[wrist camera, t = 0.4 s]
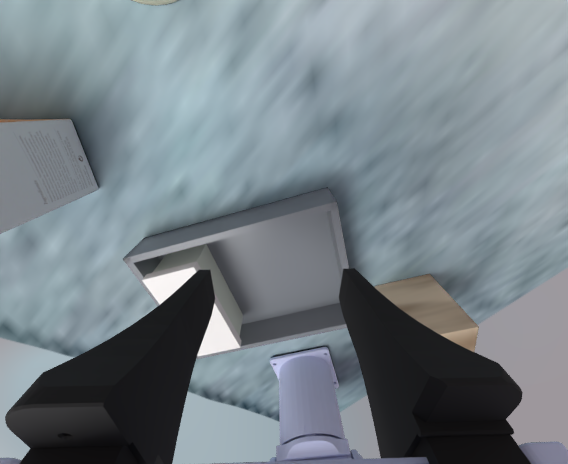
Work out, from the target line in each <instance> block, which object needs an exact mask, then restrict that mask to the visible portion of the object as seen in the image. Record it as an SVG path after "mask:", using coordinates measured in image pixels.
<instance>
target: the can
mask: <svg viewBox="0 0 568 464" xmlns="http://www.w3.org/2000/svg"><path fill="white" fill-rule="evenodd" d="M132 1H135V2H138V3H141V4H147V5H165V4H170V3H173V2H176V1H178V0H132Z"/></svg>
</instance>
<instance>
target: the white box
mask: <svg viewBox="0 0 568 464" xmlns="http://www.w3.org/2000/svg"><path fill="white" fill-rule="evenodd" d="M198 270H210V271H211V276H212V282H213V288H214V294H215V302H214V307H213V311H212V316H211V319H210V321H209V324H208V327H207V330H206V333H205V335H204V338H203V341H202V344H201V346H200V349H199V352H198V355H197V356H203V355H208V354H212V353H217V352H222V351H227V350H231V349H236V348H240V347H241V339H240V331H241V325H242V319H243V314H242V312H241V310H240V308H239V306H238V304H237V303H236V301H235V299H234V297H233V295H232V293H231V291H230V289H229V287H228V285H227V283H226V281H225V279H224V277H223V275H222V274H221V272H220V270H219V268H218V266H217V264H216V262H215V260H214V258H213V256H212V254H211V252H210V250H209V248H208V246H207V245H206V244H204V245H200V246H196V247H193V248H189V249H185V250H181V251H177V252H174V253H170V254H166V255H165V257H164V258H163V259H162V261H161V262H160V263H159V264H158V266H157V267H156V268H155V270H154V271H153V272H152V273H149V274H146V276H145V277H144V278H143V279H142V281H143V283H144V284H145V285H146V287H147V288H148V289H149V291H150V292H151V293H152V295H153V296H154V298H155V299H156V300H157V302H158V303H159V304H161V303H163V302H164V301H165V300H166V299H167V298H169V297H170V296H171V295H172V294H173V293H174V292H175V291H177V290H178V289H179V288H180V287H181V286H182V285H183V284H184V283H185V282H186V281H187V280H188V279H189V278H191V277H192V276H193V275H194V274H195V273H196V272H197V271H198Z"/></svg>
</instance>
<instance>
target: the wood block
mask: <svg viewBox="0 0 568 464" xmlns="http://www.w3.org/2000/svg"><path fill="white" fill-rule="evenodd" d="M375 288H376V289H377V290H378V291H379V292H380V293H381V294H383V295H384V296H385V297H386V298H387V299H389V300H390V301H391V302H392V303H394V304H395V305H396V306H397V307H399V308H400V309H401V310H403V311H404V312H405V313H407V314H408V315H410V316H411V317H413V318H414V319H415V320H417V321H418V322H420V323H422V324H423V325H425V326H426V327H428V328H430V329H431V330H433V331H435V332H436V333H438V334H440V335H442V336H443V337H445V338H447V339H449V340H451V341H453V342H454V343H456V344H458V345H460V346H462V347H464V348H466V349H468V350H470V351H472V352H474V350H475V345H476V339H477V334H478V328H479V327H478V325H477V324H476V323H475V322H474V321H473V320H472V319H471V318H470V317H469V316H468V315H467V314H466V313H465V311H464V310H463V309H462V308H461V307H460V306H459V305H458V304H457V303H456V302H455V301H454V300H453V299H452V297H451V296H450V295H449V294H448V293H447V292H446V291H445V290H444V289H443V288H442V287H441V286H440V285H439V284H438V282H437V281H436V280H435V279H434V278H433V277H432V276H431V275H430V274H426V275H422V276H418V277H413V278H409V279H404V280H400V281H395V282H391V283H387V284H382V285H378V286H375Z"/></svg>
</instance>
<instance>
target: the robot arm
mask: <svg viewBox="0 0 568 464" xmlns="http://www.w3.org/2000/svg"><path fill="white" fill-rule="evenodd" d="M339 301H340V305H341V310H342V314H343V317H344V320H345V323H346V325H347V328H348V331H349V334H350V336H351V339H352V342H353V345H354V347H355V350H356V353H357V356H358V359H359V363H360V366H361V370H362V374H363V378H364V382H365V386H366V390H367V395H368V399H369V403H370V408H371V412H372V417H373V421H374V426H375V431H376V436H377V440H378V445H379V451H380V456H381V458H378V459H377V458H376V459H363V457H362V456H361V455H360V454H359V453H358V452H357V451H356V450H351V451H350V449H349V444H348V440H347V439H345V435H344V431H343V426H342V421H341V416H340V411H339V406H338V402H337V397H336V392H335V389H336V388H338V387H339V384H338V380H337V377H336V373H335V370H334V367H333V363H332V360H331V357H330V353H329V350H328V348H327V347H321V348H316V349H311V350H307V351H302V352H297V353H292V354H287V355H282V356H277V357H272V358H271V359H270V363H271V365H272V367H273V369H274V371H275V373H276V375H277V377H278V379H279V405H280V445H279V446H277V447H276V454H277V455H276V457H273V458H271V459H270V461H269V462H246V463H214V464H568V450H567V449H566V447H565V446H564V445H563V444H562V443H560V442H531V443H525V444H521V445H519V446H518V445H517V443H516V442H515V441H514V439H513V438H512V437H511V435H512V434H513V433H514V431H513V429H512V427H511V426H510V425H509V423H508V422H507V421H506V418H507V417H508V416H509V415H510V414H511V413H512V412H513V411H514V409H515V408H516V407H517V406H518V405H519V403H520V402H521V399H522V391H521V389H520V387H519V386H518V385H517V384H516V383H515V382H514V380H513V379H512V378H511V377H510V376H509V375H508V374H507V372H506V371H505V370H504V369H503V368H502V367H501V366H500V365H499V364H498V363H496V362H494V361H492V360H490V359H488V358H485V357H483V356H481V355H479V354H477V353H475V352H472V351H470V350H468V349H466V348H464V347H462V346H460V345H458V344H456V343H454V342H453V341H451V340H449V339H447V338H445V337H443V336H442V335H440V334H438V333H436V332H435V331H433V330H431V329H430V328H428V327H426V326H425V325H423V324H422V323H420V322H418V321H417V320H415V319H414V318H413V317H411V316H410V315H408V314H407V313H405V312H404V311H403V310H401V309H400V308H399V307H397V306H396V305H395V304H394V303H392V302H391V301H390V300H389V299H387V298H386V297H385V296H384V295H383V294H381V293H380V292H379V291H378V290H377V289H376V288H375V287H374V286H372V285H371V284H370V283H369V282H368V281H367V280H366V279H365V278H364V277H363V276H362V275H361V274H360V273H359V272H358V271H357V270H355V269H343V273H342V280H341V286H340V292H339ZM214 302H215V294H214V288H213V282H212V276H211V271H210V270H198V271H197V272H196V273H195V274H194V275H193V276H192V277H191V278H189V279H188V280H187V281H186V282H185V283H184V284H183V285H182V286H181V287H180V288H179V289H178V290H177V291H175V292H174V293H173V294H172V295H171V296H170V297H169V298H167V299H166V300H165V301H164V302H163V303H161V304H160V305H159V306H158V307H156V308H155V309H154V310H153V311H151V312H150V313H149V314H147V315H146V316H145V317H143V318H142V319H140V320H139V321H137V322H136V323H134V324H133V325H131V326H130V327H128V328H127V329H125V330H123V331H122V332H120V333H119V334H117V335H115V336H114V337H112V338H111V339H109V340H107V341H105V342H104V343H102V344H100V345H98V346H96V347H94V348H93V349H91V350H89V351H87V352H85V353H83V354H81V355H79V356H77V357H75V358H73V359H71V360H69V361H67V362H65V363H63V364H61V365H58V366H57V367H54V368H52V369H50V370H48V371H46V372H43V374H41V375H40V377H39V378H38V379H37V380H36V381H35V382H34V383H33V384H32V385H31V387H30V388H29V389H28V390H27V391H26V392H25V393H24V394H23V395H22V397H21V398H20V399H19V400H18V401H17V402H16V403H15V405H14V406H13V407H12V408H11V409H10V410H9V411H8V412H7V414H6V417H5V420H6V424H7V426H8V428H9V429H10V430H11V431H12V432H13V433H14V434H15V435H16V436H17V437H19V438H20V439H21V440H22V441H23V442H24V443H25V444H27V445H28V446H29V447H30V448H31V449H30V450H29V452H28V453H27V454H26V456H25V457H24V458H23V460H22V461H21V460H18V459H15V458H0V464H172V461H173V456H174V451H175V446H176V441H177V436H178V431H179V427H180V422H181V417H182V413H183V408H184V404H185V400H186V396H187V391H188V387H189V383H190V379H191V375H192V371H193V368H194V364H195V361H196V358H197V355H198V352H199V349H200V346H201V344H202V341H203V338H204V335H205V333H206V330H207V327H208V324H209V321H210V319H211V316H212V311H213V307H214Z"/></svg>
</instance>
